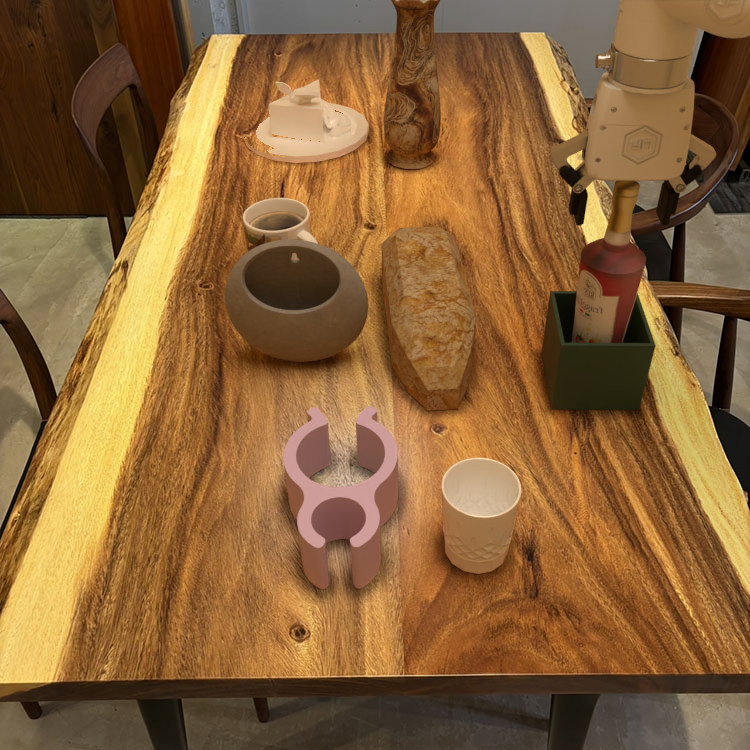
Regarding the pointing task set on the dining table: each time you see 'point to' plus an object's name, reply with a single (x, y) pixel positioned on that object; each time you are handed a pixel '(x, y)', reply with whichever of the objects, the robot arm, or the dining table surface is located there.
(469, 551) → the white cup
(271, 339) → the planter
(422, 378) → the bread
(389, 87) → the vase
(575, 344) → the green square box
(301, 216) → the mug
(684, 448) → the dining table surface
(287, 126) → the dish
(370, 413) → the clip
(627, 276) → the liquor
